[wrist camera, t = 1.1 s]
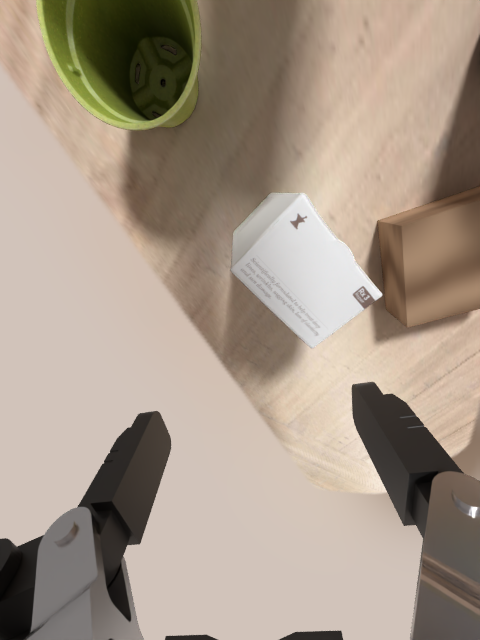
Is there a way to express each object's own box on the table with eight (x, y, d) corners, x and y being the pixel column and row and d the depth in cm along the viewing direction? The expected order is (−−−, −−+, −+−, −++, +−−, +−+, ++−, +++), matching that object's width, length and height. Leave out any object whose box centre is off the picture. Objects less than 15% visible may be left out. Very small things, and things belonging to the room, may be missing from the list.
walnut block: (376, 220, 27) (401, 225, 22) (490, 181, 25) (543, 179, 20) (384, 308, 31) (407, 327, 27) (481, 281, 30) (523, 297, 25)
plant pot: (204, 163, 25) (184, 150, 17) (108, 130, 24) (40, 100, 16) (229, 35, 20) (218, -60, 13) (114, -11, 20) (26, -144, 12)
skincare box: (232, 232, 28) (217, 268, 14) (273, 188, 25) (300, 183, 12) (282, 283, 30) (308, 355, 17) (323, 248, 28) (390, 297, 15)
